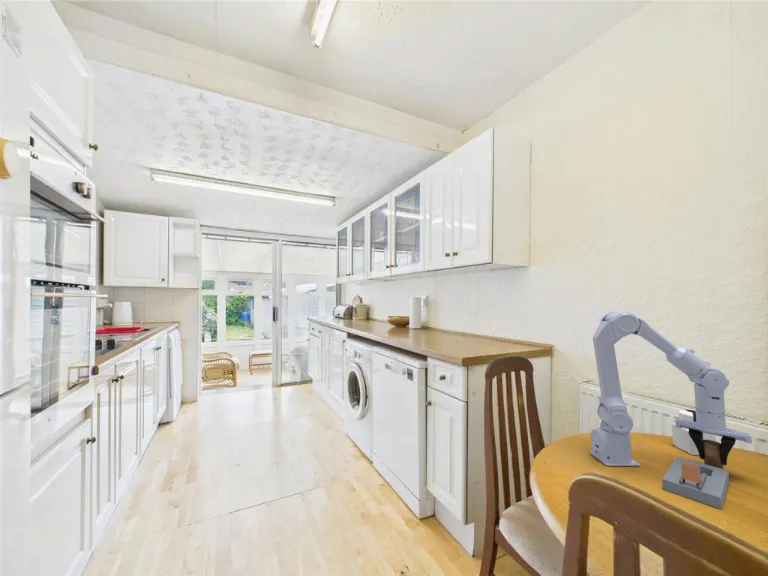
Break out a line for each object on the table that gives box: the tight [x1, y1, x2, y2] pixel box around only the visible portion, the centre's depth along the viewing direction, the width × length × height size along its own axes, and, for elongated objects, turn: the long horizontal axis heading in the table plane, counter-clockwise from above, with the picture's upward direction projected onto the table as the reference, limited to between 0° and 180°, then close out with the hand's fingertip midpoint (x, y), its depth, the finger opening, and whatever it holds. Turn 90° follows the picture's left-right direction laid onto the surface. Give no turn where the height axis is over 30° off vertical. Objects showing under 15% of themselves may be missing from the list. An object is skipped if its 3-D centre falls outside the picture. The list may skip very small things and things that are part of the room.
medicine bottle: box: [671, 409, 717, 456], centre depth 99 cm, size 7×7×12 cm
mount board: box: [661, 456, 730, 510], centre depth 80 cm, size 18×10×3 cm, turn 128°
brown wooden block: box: [703, 440, 724, 469], centre depth 86 cm, size 4×4×6 cm
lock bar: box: [681, 461, 701, 487], centre depth 78 cm, size 7×3×4 cm, turn 128°
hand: (713, 461), depth 86 cm, fingers closed on brown wooden block, 4 cm apart
